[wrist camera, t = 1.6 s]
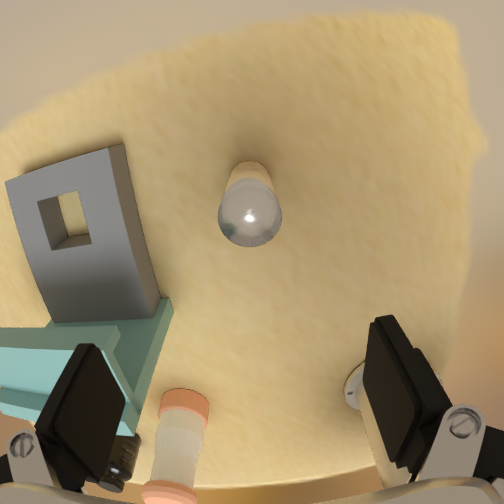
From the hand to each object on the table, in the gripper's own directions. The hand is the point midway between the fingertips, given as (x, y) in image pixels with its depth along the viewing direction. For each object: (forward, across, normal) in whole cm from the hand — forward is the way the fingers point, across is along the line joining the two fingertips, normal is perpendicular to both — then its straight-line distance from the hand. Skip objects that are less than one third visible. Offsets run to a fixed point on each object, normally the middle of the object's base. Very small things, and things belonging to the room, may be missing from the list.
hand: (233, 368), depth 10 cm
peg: (+24, -1, -1) cm, 24 cm away
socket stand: (+24, +18, +3) cm, 30 cm away
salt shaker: (+23, +12, +30) cm, 40 cm away
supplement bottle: (+23, +27, +40) cm, 54 cm away
